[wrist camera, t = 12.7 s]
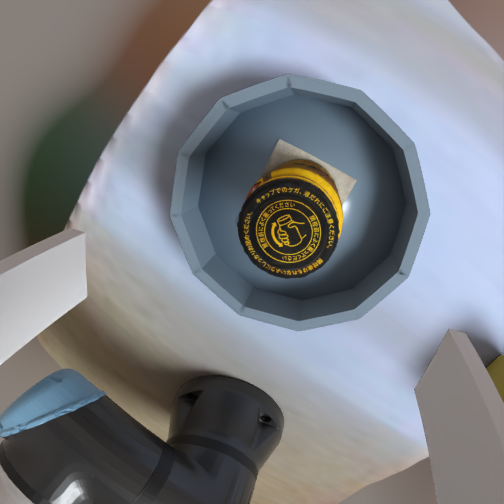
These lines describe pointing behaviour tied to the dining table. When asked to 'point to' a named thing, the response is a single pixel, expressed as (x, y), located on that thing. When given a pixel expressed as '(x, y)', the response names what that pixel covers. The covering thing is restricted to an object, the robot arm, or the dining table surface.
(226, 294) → the bowl
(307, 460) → the dining table surface
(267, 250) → the condiment
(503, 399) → the flower pot
